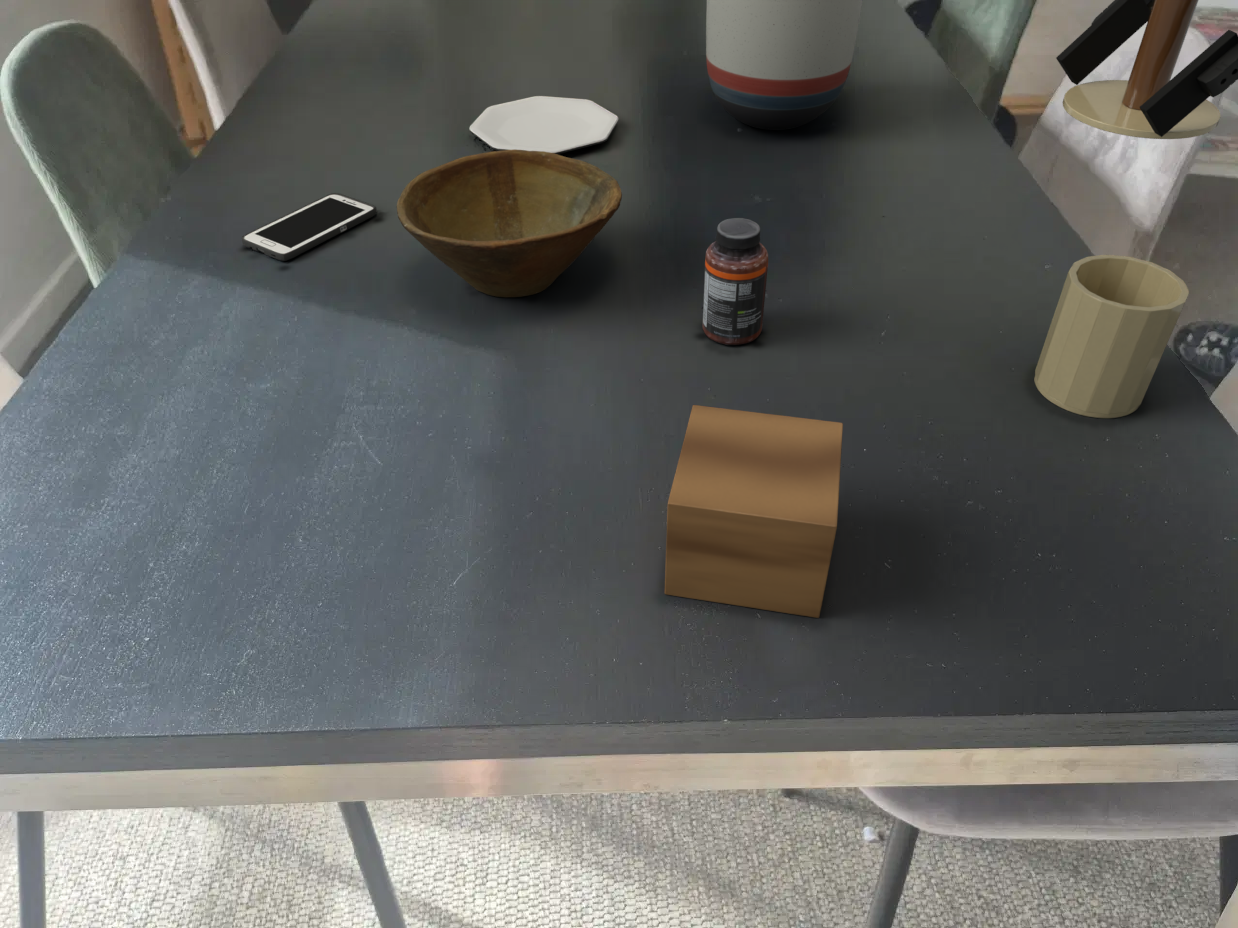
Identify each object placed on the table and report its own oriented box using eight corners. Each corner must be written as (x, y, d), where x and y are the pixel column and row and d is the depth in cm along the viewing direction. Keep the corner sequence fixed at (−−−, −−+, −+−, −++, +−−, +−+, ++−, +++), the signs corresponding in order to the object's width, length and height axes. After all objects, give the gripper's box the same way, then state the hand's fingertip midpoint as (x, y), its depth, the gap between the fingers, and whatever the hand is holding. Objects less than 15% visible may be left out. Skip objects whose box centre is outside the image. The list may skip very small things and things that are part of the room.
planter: (769, 87, 147) (783, -69, 133) (874, 124, 135) (901, -42, 121) (671, 119, 137) (676, -45, 123) (775, 163, 125) (792, -14, 111)
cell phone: (239, 245, 109) (237, 237, 108) (336, 198, 118) (334, 191, 117) (284, 264, 105) (282, 256, 105) (380, 214, 114) (379, 206, 114)
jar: (1151, 424, 83) (1200, 315, 75) (1040, 411, 84) (1078, 303, 77) (1131, 365, 89) (1174, 260, 82) (1028, 354, 91) (1062, 250, 84)
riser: (819, 618, 66) (837, 526, 60) (664, 594, 68) (667, 503, 62) (826, 512, 74) (843, 422, 69) (688, 493, 76) (692, 404, 70)
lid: (1199, 151, 63) (1253, 16, 58) (1042, 118, 68) (1078, -10, 63) (1231, 104, 70) (1282, -22, 64) (1086, 77, 74) (1122, -43, 69)
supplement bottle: (729, 309, 98) (737, 206, 90) (774, 332, 94) (785, 227, 87) (688, 330, 95) (693, 226, 87) (733, 355, 91) (742, 248, 84)
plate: (628, 112, 139) (628, 102, 138) (595, 167, 125) (595, 156, 124) (500, 102, 143) (500, 92, 142) (454, 154, 128) (453, 143, 127)
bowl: (642, 318, 96) (643, 227, 90) (415, 345, 93) (399, 253, 86) (601, 222, 113) (599, 140, 106) (406, 242, 109) (392, 159, 103)
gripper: (1594, -98, 53) (1229, 193, 61) (1303, -158, 70) (1046, 78, 78) (1576, -210, 49) (1187, 119, 57) (1271, -245, 66) (1003, 14, 74)
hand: (1106, 95), depth 68 cm, fingers closed on lid, 10 cm apart
